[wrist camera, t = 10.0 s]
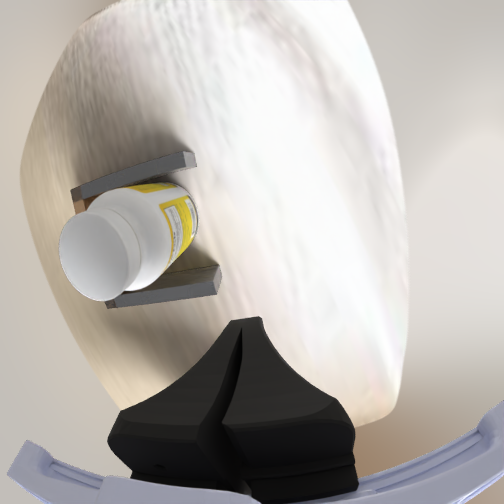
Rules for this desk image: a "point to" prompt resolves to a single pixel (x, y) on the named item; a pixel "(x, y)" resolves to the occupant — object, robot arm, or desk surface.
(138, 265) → the supplement bottle
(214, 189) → the desk surface
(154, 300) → the bracket
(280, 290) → the desk surface
